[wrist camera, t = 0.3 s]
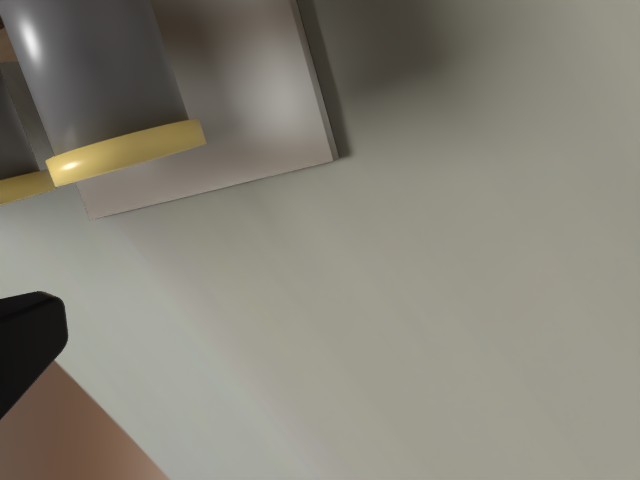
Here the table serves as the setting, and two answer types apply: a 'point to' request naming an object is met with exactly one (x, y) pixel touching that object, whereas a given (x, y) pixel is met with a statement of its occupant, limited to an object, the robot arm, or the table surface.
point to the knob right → (99, 84)
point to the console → (225, 103)
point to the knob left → (17, 156)
